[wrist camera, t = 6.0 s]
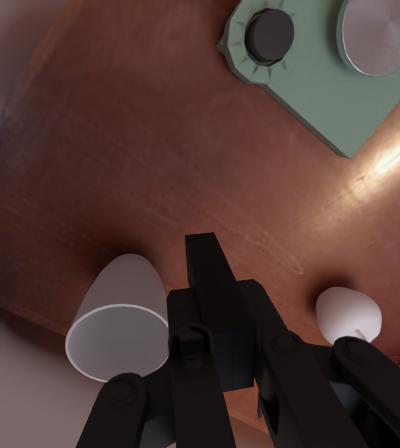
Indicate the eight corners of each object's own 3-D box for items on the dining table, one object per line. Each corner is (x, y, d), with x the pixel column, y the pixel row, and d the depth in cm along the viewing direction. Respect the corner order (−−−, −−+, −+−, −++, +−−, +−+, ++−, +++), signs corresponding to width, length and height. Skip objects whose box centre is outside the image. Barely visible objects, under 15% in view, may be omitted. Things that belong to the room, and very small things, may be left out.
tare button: (238, 44, 21) (244, 40, 20) (264, 4, 20) (272, -3, 19) (268, 71, 22) (275, 69, 21) (293, 34, 21) (303, 29, 20)
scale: (204, 54, 24) (212, 48, 20) (318, -131, 20) (349, -173, 17) (332, 163, 29) (354, 172, 26) (438, 35, 26) (478, 26, 23)
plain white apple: (298, 320, 38) (332, 373, 31) (314, 275, 35) (356, 321, 28) (344, 320, 39) (388, 371, 32) (363, 277, 36) (416, 322, 29)
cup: (109, 312, 33) (93, 394, 24) (78, 254, 29) (44, 326, 20) (177, 290, 33) (186, 364, 24) (153, 230, 29) (153, 290, 20)
